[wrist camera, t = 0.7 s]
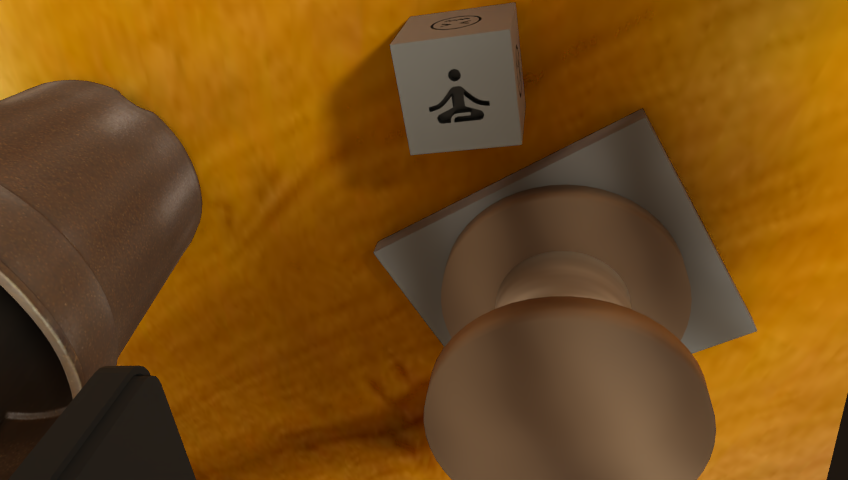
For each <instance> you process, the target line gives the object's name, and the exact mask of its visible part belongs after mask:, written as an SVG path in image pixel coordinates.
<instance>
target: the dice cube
mask: <svg viewBox="0 0 848 480" xmlns="http://www.w3.org/2000/svg"><path fill="white" fill-rule="evenodd" d="M390 49H391V54H392V59H393V65H394V70H395V75H396V80H397V86H398V91H399V96H400V102H401V107H402V112H403V117H404V123H405V128H406V133H407V138H408V144H409V149H410V154H411V155H418V154H429V153H439V152H450V151H461V150H471V149H482V148H493V147H504V146H514V145H522V140H523V129H524V119H525V108H526V103H525V93H524V83H523V73H522V63H521V53H520V43H519V32H518V22H517V12H516V2H514V3H507V4H500V5H492V6H485V7H478V8H471V9H463V10H456V11H449V12H441V13H434V14H427V15H420V16H412V17H410V18H409V19H408V21H407V22H406V23H405V25H404V26H403V27H402V29H401V30H400V32H399V33H398V34H397V36H396V37H395V38H394V40H393V41H392V42H391V44H390Z"/></svg>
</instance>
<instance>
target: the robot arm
mask: <svg viewBox="0 0 848 480" xmlns="http://www.w3.org/2000/svg"><path fill="white" fill-rule="evenodd" d="M8 480H196V478H195V476H194V473H193V470H192V467H191V465H190V462H189V459H188V456H187V454H186V451H185V448H184V445H183V443H182V440H181V437H180V435H179V432H178V429H177V426H176V424H175V421H174V418H173V415H172V413H171V410H170V407H169V404H168V402H167V399H166V396H165V393H164V391H163V388H162V385H161V383H160V381H159V379H158V378H157V377H156V376H151V375H150V373H149V371H148V370H147V369H146V368H145V367H142V366H104V367H101V368H99V369H98V370H97V371H96V372H95V373H94V374H93V375H92V377H91V378H90V379H89V380H88V382H87V383H86V384H85V385H84V386H83V388H82V389H81V390H80V391H79V393H78V394H77V395H76V396H75V398H74V399H73V400H72V401H71V403H70V404H69V405H68V406H67V407H66V409H65V410H64V411H63V412H62V414H61V415H60V416H59V417H58V419H57V420H56V421H55V422H54V424H53V425H52V426H51V427H50V429H49V430H48V431H47V432H46V433H45V435H44V436H43V437H42V438H41V440H40V441H39V442H38V443H37V445H36V446H35V447H34V448H33V450H32V451H31V452H30V453H29V454H28V456H27V457H26V458H25V459H24V461H23V462H22V463H21V464H20V466H19V467H18V468H17V469H16V471H15V472H14V473H13V474H12V476H11V477H10V478H9V479H8ZM827 480H848V394H847V398H846V403H845V407H844V411H843V415H842V419H841V423H840V427H839V431H838V435H837V440H836V444H835V448H834V452H833V456H832V460H831V464H830V468H829V472H828V477H827Z"/></svg>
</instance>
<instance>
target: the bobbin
mask: <svg viewBox="0 0 848 480" xmlns="http://www.w3.org/2000/svg"><path fill="white" fill-rule="evenodd" d="M373 253H374V254H375V256H376V257H377V258H378V260H379V261H380V262H381V264H382V265H383V266H384V268H385V269H386V270H387V272H388V273H389V274H390V276H391V277H392V278H393V280H394V281H395V282H396V284H397V285H398V286H399V287H400V289H401V290H402V291H403V293H404V294H405V295H406V297H407V298H408V299H409V301H410V302H411V303H412V305H413V306H414V307H415V309H416V310H417V311H418V313H419V314H420V315H421V317H422V318H423V319H424V321H425V322H426V323H427V325H428V326H429V327H430V329H431V330H432V331H433V333H434V334H435V335H436V336H437V338H438V339H439V340H440V342H441V343H442V344H443V346H444V348H443V350H442V352H441V353H440V355H439V357H438V358H437V360H436V363H435V365H434V368H433V371H432V374H431V378H430V383H429V387H428V392H427V396H426V401H425V407H424V427H425V433H426V437H427V440H428V443H429V446H430V449H431V451H432V453H433V454H434V456H435V458H436V460H437V462H438V463H439V464H440V466H441V467H442V469H443V470H444V471H445V473H446V474H447V475H448V476H449V477H450V478H451V479H452V480H697V479H698V477H699V476H700V475H701V473H702V472H703V471H704V469H705V467H706V465H707V463H708V461H709V459H710V457H711V454H712V450H713V447H714V443H715V434H716V425H715V415H714V411H713V408H712V404H711V400H710V397H709V393H708V389H707V386H706V382H705V378H704V375H703V373H702V371H701V369H700V367H699V365H698V362H697V361H696V360H695V358H694V357H693V355H692V353H695V352H698V351H701V350H704V349H707V348H709V347H712V346H715V345H718V344H721V343H724V342H727V341H730V340H733V339H735V338H738V337H741V336H744V335H747V334H750V333H753V332H756V331H757V329H756V327H755V324H754V322H753V319H752V317H751V315H750V313H749V311H748V309H747V307H746V305H745V303H744V302H743V300H742V298H741V296H740V294H739V292H738V290H737V288H736V286H735V284H734V282H733V280H732V279H731V277H730V275H729V273H728V271H727V269H726V267H725V265H724V263H723V261H722V259H721V257H720V256H719V254H718V252H717V250H716V248H715V246H714V244H713V242H712V240H711V238H710V236H709V234H708V232H707V231H706V229H705V227H704V225H703V223H702V221H701V219H700V217H699V215H698V213H697V211H696V209H695V208H694V206H693V204H692V202H691V200H690V198H689V196H688V194H687V192H686V190H685V188H684V186H683V185H682V183H681V181H680V179H679V177H678V175H677V173H676V171H675V169H674V167H673V165H672V163H671V162H670V160H669V158H668V156H667V154H666V152H665V150H664V148H663V146H662V144H661V142H660V140H659V139H658V137H657V135H656V133H655V131H654V129H653V127H652V125H651V123H650V121H649V119H648V117H647V116H646V114H645V112H644V110H643V108H642V109H640V110H638V111H636V112H634V113H632V114H630V115H628V116H626V117H624V118H622V119H620V120H618V121H616V122H615V123H613V124H611V125H609V126H607V127H605V128H603V129H601V130H599V131H597V132H595V133H593V134H591V135H589V136H587V137H585V138H583V139H581V140H579V141H577V142H575V143H573V144H571V145H569V146H567V147H565V148H563V149H561V150H559V151H557V152H555V153H553V154H551V155H549V156H547V157H545V158H543V159H541V160H539V161H537V162H535V163H533V164H531V165H529V166H527V167H525V168H523V169H521V170H519V171H517V172H515V173H513V174H511V175H509V176H507V177H505V178H503V179H501V180H499V181H497V182H496V183H494V184H492V185H490V186H488V187H486V188H484V189H482V190H480V191H478V192H476V193H474V194H472V195H470V196H468V197H466V198H464V199H462V200H460V201H458V202H456V203H454V204H452V205H450V206H448V207H446V208H444V209H442V210H440V211H438V212H436V213H434V214H432V215H430V216H428V217H426V218H424V219H422V220H420V221H418V222H416V223H414V224H412V225H410V226H408V227H406V228H404V229H402V230H400V231H398V232H396V233H394V234H392V235H390V236H388V237H386V238H384V239H382V240H380V241H379V242H378V243H377V245H376V248H375V250H374V252H373Z"/></svg>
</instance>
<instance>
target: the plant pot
mask: <svg viewBox="0 0 848 480" xmlns="http://www.w3.org/2000/svg"><path fill="white" fill-rule="evenodd" d="M201 213H202V197H201V190H200V185H199V181H198V178H197V175H196V172H195V169H194V167H193V164H192V162H191V160H190V158H189V156H188V154H187V152H186V151H185V149H184V147H183V145H182V144H181V142H180V141H179V140H178V138H177V137H176V136H175V135H174V133H173V132H172V131H171V130H170V129H169V127H168V126H167V125H166V124H165V123H164V122H163V121H162V120H161V119H160V118H159V117H158V116H157V115H155V114H154V113H153V112H151V111H148V110H145V109H142V108H140V107H138V106H136V105H135V104H133V103H132V102H130V101H128V100H127V99H126V98H125V97H124V96H122V95H121V94H120V92H119V91H117V90H115V89H113V88H111V87H108V86H104V85H101V84H98V83H93V82H89V81H79V80H63V81H54V82H49V83H44V84H41V85H38V86H36V87H33V88H30V89H27V90H25V91H23V92H20V93H18V94H16V95H13V96H11V97H8V98H5V99H3V100H0V480H8V479H9V478H10V477H11V476H12V474H13V473H14V472H15V471H16V469H17V468H18V467H19V466H20V464H21V463H22V462H23V461H24V459H25V458H26V457H27V456H28V454H29V453H30V452H31V451H32V450H33V448H34V447H35V446H36V445H37V443H38V442H39V441H40V440H41V438H42V437H43V436H44V435H45V433H46V432H47V431H48V430H49V429H50V427H51V426H52V425H53V424H54V422H55V421H56V420H57V419H58V417H59V416H60V415H61V414H62V412H63V411H64V410H65V409H66V407H67V406H68V405H69V404H70V403H71V401H72V400H73V399H74V398H75V396H76V395H77V394H78V393H79V391H80V390H81V389H82V388H83V386H84V385H85V384H86V383H87V382H88V380H89V379H90V378H91V377H92V375H93V374H94V373H95V372H96V371H97V370H98V369H99V368H101V367H104V366H116V364H117V359H118V357H119V355H120V353H121V352H122V350H123V349H124V347H125V345H126V344H127V342H128V341H129V339H130V337H131V336H132V334H133V333H134V331H135V329H136V328H137V326H138V325H139V323H140V321H141V320H142V318H143V317H144V315H145V314H146V312H147V310H148V309H149V307H150V306H151V304H152V302H153V301H154V299H155V298H156V296H157V294H158V293H159V291H160V290H161V288H162V286H163V285H164V283H165V282H166V280H167V278H168V277H169V275H170V274H171V272H172V271H173V269H174V267H175V266H176V264H177V263H178V261H179V259H180V258H181V256H182V255H183V253H184V252H185V250H186V249H187V247H188V246H189V244H190V243H191V241H192V239H193V237H194V234H195V232H196V230H197V227H198V225H199V223H200V218H201Z"/></svg>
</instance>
